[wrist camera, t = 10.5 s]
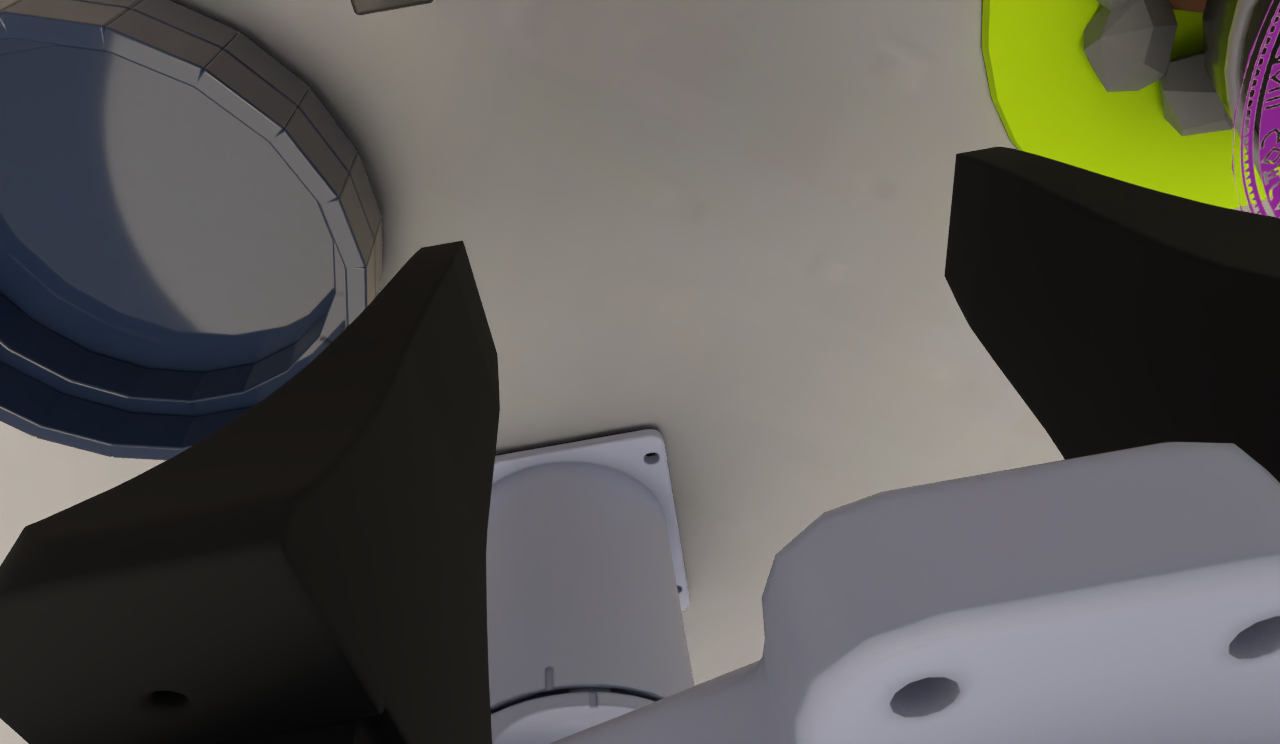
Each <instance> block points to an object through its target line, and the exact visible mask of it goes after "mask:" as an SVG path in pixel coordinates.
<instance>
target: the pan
mask: <svg viewBox="0 0 1280 744" xmlns="http://www.w3.org/2000/svg"><path fill="white" fill-rule="evenodd" d="M381 279H382V217H381V213H380V210H379V207H378V204H377V202H376V199H375V196H374V193H373V191H372V188H371V185H370V182H369V180H368V177H367V174H366V171H365V168H364V166H363V163H362V160H361V157H360V155H359V153H358V152H357V150H356V148H355V147H354V146H353V144H352V143H351V142H350V140H349V139H348V138H347V136H346V135H345V134H344V132H343V131H342V130H341V128H340V127H339V125H338V124H337V123H336V121H335V120H334V119H333V117H332V116H331V115H330V113H329V112H328V111H327V109H326V108H325V107H324V105H323V104H322V103H321V101H320V100H319V99H318V97H317V96H316V95H315V93H314V92H313V91H312V90H311V89H309V86H308V85H307V84H305V83H304V82H303V81H302V80H300V79H299V78H298V77H297V76H295V75H294V74H293V73H292V72H290V71H289V70H288V69H287V68H285V67H284V66H283V65H281V64H280V63H279V62H278V61H276V60H275V59H274V58H273V57H271V56H270V55H269V54H268V53H266V52H265V51H264V50H262V49H261V48H260V47H259V46H257V45H256V44H255V43H254V42H252V41H251V40H250V39H249V38H247V37H246V36H245V35H243V34H242V33H240V32H239V33H238V31H237V30H235V29H233V28H231V27H228V26H226V25H224V24H222V23H219V22H217V21H215V20H213V19H210V18H208V17H206V16H204V15H201V14H199V13H197V12H195V11H192V10H190V9H188V8H186V7H183V6H181V5H179V4H177V3H174V2H172V1H170V0H0V421H2V422H4V423H6V424H8V425H10V426H12V427H14V428H16V429H18V430H21V431H23V432H25V433H27V434H29V435H31V436H34V437H35V436H36V437H37V438H39V439H43V440H47V441H51V442H55V443H59V444H62V445H66V446H70V447H74V448H78V449H82V450H86V451H90V452H94V453H97V454H101V455H105V456H109V457H112V456H113V457H116V458H135V459H153V460H169V459H171V458H172V457H174V456H176V455H178V454H179V453H181V452H183V451H185V450H186V449H188V448H190V447H192V446H193V445H195V444H197V443H199V442H200V441H202V440H203V439H205V438H207V437H208V436H210V435H211V434H213V433H214V432H216V431H217V430H219V429H220V428H222V427H223V426H225V425H227V424H228V423H230V422H231V421H233V420H234V419H236V418H237V417H239V416H240V415H242V414H243V413H245V412H246V411H248V410H249V409H251V408H252V407H254V406H255V405H257V404H258V403H260V402H261V401H262V400H264V399H265V398H267V397H268V396H269V395H271V394H272V393H273V392H274V391H276V390H277V389H278V388H280V387H281V386H282V385H283V384H285V383H286V382H287V381H288V380H290V379H291V378H292V377H294V376H295V375H296V374H297V373H298V372H300V371H301V370H302V369H303V368H304V367H306V366H307V365H308V364H309V363H310V362H311V361H312V360H314V359H315V358H316V357H317V356H318V355H319V354H320V353H321V352H322V351H323V350H324V349H325V348H326V347H327V346H328V345H329V344H330V343H331V342H332V341H334V340H335V339H336V338H337V337H338V336H339V335H340V334H341V333H342V332H343V331H344V330H345V329H346V328H347V327H348V326H349V325H350V324H351V323H352V322H353V321H354V320H355V319H356V318H357V317H358V316H359V315H360V314H361V313H362V312H363V311H364V309H365V308H366V307H367V306H368V305H369V304H370V303H371V302H372V301H373V300H374V298H375V297H376V296H377V294H378V290H379V286H380V282H381Z"/></svg>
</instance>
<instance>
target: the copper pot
mask: <svg viewBox="0 0 1280 744" xmlns="http://www.w3.org/2000/svg"><path fill="white" fill-rule="evenodd" d="M432 1H433V0H351V3H352V6H353V9H354V12H355V13H356V14H357V15H365V14H370V13H376V12H382V11H387V10H393V9H399V8H404V7H410V6H416V5H421V4H427V3H431V2H432Z"/></svg>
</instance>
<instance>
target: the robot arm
mask: <svg viewBox="0 0 1280 744" xmlns="http://www.w3.org/2000/svg"><path fill="white" fill-rule="evenodd" d="M945 278H946V280H947V282H948V284H949V286H950V288H951V290H952V292H953V294H954V297H955V299H956V301H957V303H958V305H959V307H960V309H961V311H962V312H963V314H964V316H965V318H966V320H967V322H968V324H969V326H970V327H971V329H972V330H973V332H974V333H975V334H976V336H977V337H978V339H979V340H980V342H981V343H982V344H983V346H984V347H985V348H986V350H987V351H988V353H989V354H990V355H991V357H992V358H993V360H994V361H995V362H996V364H997V365H998V366H999V368H1000V369H1001V370H1002V372H1003V373H1004V375H1005V376H1006V377H1007V379H1008V380H1009V381H1010V383H1011V384H1012V385H1013V387H1014V388H1015V389H1016V391H1017V392H1018V393H1019V395H1020V396H1021V397H1022V399H1023V400H1024V401H1025V403H1026V404H1027V406H1028V407H1029V408H1030V410H1031V411H1032V412H1033V414H1034V415H1035V416H1036V418H1037V419H1038V420H1039V422H1040V423H1041V424H1042V426H1043V427H1044V428H1045V430H1046V431H1047V433H1048V434H1049V436H1050V437H1051V439H1052V440H1053V442H1054V443H1055V445H1056V446H1057V448H1058V449H1059V451H1060V452H1061V454H1062V455H1063V457H1064V459H1065V460H1061V461H1055V462H1050V463H1044V464H1038V465H1033V466H1027V467H1021V468H1015V469H1010V470H1004V471H998V472H993V473H987V474H981V475H976V476H970V477H964V478H958V479H953V480H947V481H941V482H936V483H930V484H924V485H919V486H913V487H907V488H901V489H896V490H890V491H884V492H880V493H877V494H875V495H872V496H869V497H866V498H863V499H861V500H858V501H855V502H852V503H850V504H847V505H844V506H841V507H839V508H836V509H833V510H830V511H827V512H825V513H823V514H822V515H821V516H820V517H818V518H817V519H816V520H815V521H814V522H813V523H812V524H810V525H809V526H808V527H807V528H806V529H805V530H804V531H802V532H801V533H800V534H799V535H798V536H797V537H795V538H794V539H793V540H792V541H791V542H790V543H789V544H787V545H786V546H785V547H784V548H783V549H782V550H781V551H780V552H779V553H778V554H776V555H775V558H774V561H773V565H772V568H771V571H770V574H769V577H768V580H767V583H766V586H765V589H764V592H763V596H762V606H763V619H764V631H765V643H764V650H763V657H762V659H761V660H759V661H757V662H754V663H752V664H749V665H747V666H744V667H742V668H739V669H737V670H734V671H732V672H729V673H727V674H724V675H722V676H719V677H717V678H714V679H711V680H709V681H706V682H704V683H701V684H699V685H696V686H694V681H693V675H692V669H691V664H690V658H689V652H688V647H687V641H686V635H685V629H684V624H683V618H682V612H684V611H685V610H687V609H688V608H689V606H690V597H689V591H688V585H687V579H686V573H685V567H684V561H683V555H682V549H681V542H680V536H679V530H678V524H677V518H676V512H675V506H674V500H673V494H672V487H671V481H670V475H669V469H668V463H667V457H666V451H665V445H664V439H663V436H662V434H661V433H660V432H658V431H657V430H653V429H646V430H640V431H634V432H628V433H623V434H617V435H611V436H606V437H600V438H594V439H589V440H583V441H577V442H571V443H566V444H560V445H554V446H549V447H543V448H537V449H532V450H526V451H520V452H514V453H509V454H503V455H497V456H495V453H496V443H497V433H498V422H499V411H500V403H499V378H498V359H497V352H496V349H495V345H494V342H493V339H492V335H491V332H490V329H489V325H488V322H487V319H486V316H485V312H484V309H483V306H482V302H481V299H480V296H479V292H478V289H477V286H476V282H475V279H474V276H473V272H472V269H471V266H470V263H469V259H468V256H467V253H466V249H465V246H464V243H463V241H458V242H452V243H446V244H441V245H435V246H429V247H424V248H421V249H420V250H418V251H417V252H416V253H415V254H414V255H413V256H412V257H411V258H410V259H409V260H408V262H407V263H406V264H405V265H404V266H403V267H402V268H401V269H400V270H399V272H398V273H397V274H396V275H395V276H394V277H393V278H392V280H391V281H390V282H389V283H388V284H387V285H386V286H385V287H384V289H383V290H382V291H381V292H380V293H379V294H378V295H377V296H376V297H375V298H374V300H373V301H372V302H371V303H370V304H369V305H368V306H367V307H366V308H365V309H364V311H363V312H362V313H361V314H360V315H359V316H358V317H357V318H356V319H355V320H354V321H353V322H352V323H351V324H350V325H349V326H348V327H347V328H346V329H345V330H344V331H343V332H342V333H341V334H340V335H339V336H338V337H337V338H336V339H335V340H334V341H332V342H331V343H330V344H329V345H328V346H327V347H326V348H325V349H324V350H323V351H322V352H321V353H320V354H319V355H318V356H317V357H316V358H315V359H314V360H312V361H311V362H310V363H309V364H308V365H307V366H306V367H304V368H303V369H302V370H301V371H300V372H298V373H297V374H296V375H295V376H294V377H292V378H291V379H290V380H288V381H287V382H286V383H285V384H283V385H282V386H281V387H280V388H278V389H277V390H276V391H274V392H273V393H272V394H271V395H269V396H268V397H267V398H265V399H264V400H262V401H261V402H260V403H258V404H257V405H255V406H254V407H252V408H251V409H249V410H248V411H246V412H245V413H243V414H242V415H240V416H239V417H237V418H236V419H234V420H233V421H231V422H230V423H228V424H227V425H225V426H223V427H222V428H220V429H219V430H217V431H216V432H214V433H213V434H211V435H210V436H208V437H207V438H205V439H203V440H202V441H200V442H199V443H197V444H195V445H193V446H192V447H190V448H188V449H186V450H185V451H183V452H181V453H179V454H178V455H176V456H174V457H172V458H171V459H169V460H167V461H165V462H163V463H161V464H159V465H157V466H155V467H154V468H152V469H150V470H148V471H146V472H144V473H142V474H140V475H138V476H137V477H135V478H133V479H131V480H129V481H126V482H124V483H122V484H120V485H118V486H116V487H114V488H112V489H110V490H108V491H106V492H103V493H101V494H99V495H97V496H94V497H92V498H90V499H88V500H85V501H83V502H81V503H79V504H77V505H74V506H72V507H70V508H68V509H65V510H63V511H61V512H59V513H56V514H54V515H52V516H50V517H48V518H45V519H43V520H40V521H38V522H36V523H33V524H31V525H28V526H26V527H25V528H24V529H23V531H22V532H21V534H20V536H19V537H18V539H17V541H16V542H15V544H14V545H13V547H12V549H11V550H10V552H9V553H8V555H7V556H6V558H5V560H4V561H3V563H2V564H1V566H0V718H1V719H2V720H3V721H4V722H5V723H6V724H8V725H9V726H10V727H11V728H12V729H13V730H14V731H15V732H17V733H18V734H19V735H20V736H21V737H22V738H23V739H24V740H25V741H27V742H28V743H29V744H1280V218H1276V217H1271V216H1265V215H1260V214H1254V213H1249V212H1244V211H1238V210H1233V209H1228V208H1224V207H1219V206H1215V205H1210V204H1206V203H1202V202H1198V201H1194V200H1190V199H1186V198H1182V197H1179V196H1175V195H1171V194H1167V193H1163V192H1159V191H1156V190H1152V189H1149V188H1145V187H1142V186H1138V185H1135V184H1131V183H1128V182H1125V181H1121V180H1118V179H1115V178H1111V177H1108V176H1105V175H1102V174H1098V173H1095V172H1092V171H1089V170H1085V169H1082V168H1079V167H1076V166H1073V165H1069V164H1066V163H1063V162H1060V161H1056V160H1053V159H1050V158H1046V157H1043V156H1039V155H1036V154H1032V153H1028V152H1024V151H1020V150H1016V149H1011V148H1005V147H994V148H988V149H982V150H976V151H971V152H965V153H959V154H956V163H955V174H954V184H953V195H952V205H951V215H950V226H949V236H948V246H947V257H946V267H945ZM648 453H656V454H655V455H653V456H646V454H648Z"/></svg>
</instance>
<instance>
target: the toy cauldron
mask: <svg viewBox="0 0 1280 744" xmlns="http://www.w3.org/2000/svg"><path fill="white" fill-rule="evenodd" d="M982 50H983V56H984V61H985V67H986V72H987V78H988V83H989V88H990V94H991V98H992V100H993V102H994V105H995V107H996V109H997V111H998V114H999V116H1000V118H1001V120H1002V123H1003V125H1004V127H1005V130H1006V132H1007V134H1008V136H1009V139H1010V140H1011V141H1012V143H1013V144H1014V145H1015V146H1016V147H1017V149H1018V150H1020V151H1024V152H1028V153H1032V154H1036V155H1039V156H1043V157H1046V158H1050V159H1053V160H1056V161H1060V162H1063V163H1066V164H1069V165H1073V166H1076V167H1079V168H1082V169H1085V170H1089V171H1092V172H1095V173H1098V174H1102V175H1105V176H1108V177H1111V178H1115V179H1118V180H1121V181H1125V182H1128V183H1131V184H1135V185H1138V186H1142V187H1145V188H1149V189H1152V190H1156V191H1159V192H1163V193H1167V194H1171V195H1175V196H1179V197H1182V198H1186V199H1190V200H1194V201H1198V202H1202V203H1206V204H1210V205H1215V206H1219V207H1224V208H1228V209H1233V208H1237V207H1240V208H1241V206H1245V205H1249V208H1250V211H1251V213H1254V214H1255V212H1254V209H1253V208H1252V204H1254V203H1256V205H1255V208H1256V207H1258V209H1259V211H1258V212H1257V214H1259V213H1261V215H1265V216H1268V215H1267V213H1266V211H1265V209H1264V207H1263V204H1262V200H1264V199H1267V200H1268V202H1269V205H1270V207H1271V210H1272V211H1273V214H1274V215H1275V217H1276V218H1280V209H1278V210H1275V208H1276V207H1277V205H1278V204H1279V203H1280V0H983V10H982ZM1270 197H1273V199H1272V200H1271V199H1270ZM1279 207H1280V206H1279ZM1241 211H1243V210H1242V208H1241Z"/></svg>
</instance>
